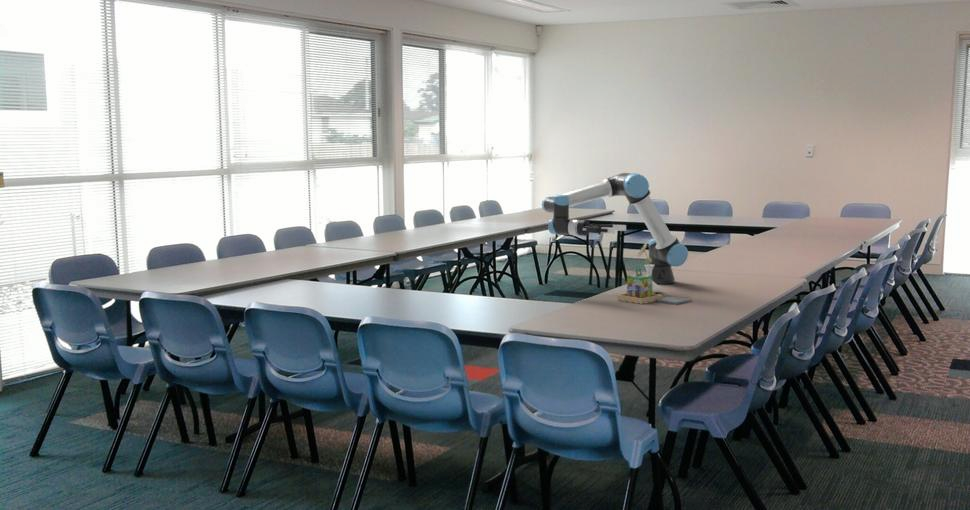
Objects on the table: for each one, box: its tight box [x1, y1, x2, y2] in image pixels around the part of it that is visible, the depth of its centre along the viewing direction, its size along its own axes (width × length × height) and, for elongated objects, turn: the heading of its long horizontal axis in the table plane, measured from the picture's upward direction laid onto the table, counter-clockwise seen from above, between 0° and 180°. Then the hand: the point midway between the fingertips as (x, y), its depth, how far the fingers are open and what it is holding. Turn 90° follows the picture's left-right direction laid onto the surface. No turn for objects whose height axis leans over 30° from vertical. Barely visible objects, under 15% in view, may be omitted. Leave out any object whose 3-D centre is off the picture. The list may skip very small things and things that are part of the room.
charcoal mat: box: [655, 295, 692, 305], centre depth 427 cm, size 12×12×1 cm
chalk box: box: [626, 268, 652, 298], centre depth 432 cm, size 9×9×15 cm
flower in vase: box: [637, 242, 662, 294], centre depth 450 cm, size 13×11×25 cm
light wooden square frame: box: [616, 292, 663, 305], centre depth 432 cm, size 15×15×2 cm
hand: (620, 229), depth 433 cm, fingers open, 13 cm apart
